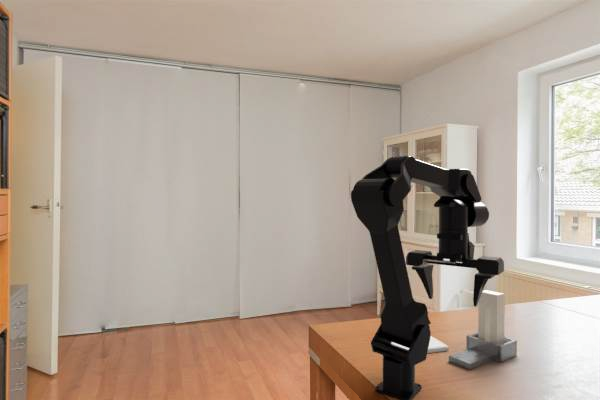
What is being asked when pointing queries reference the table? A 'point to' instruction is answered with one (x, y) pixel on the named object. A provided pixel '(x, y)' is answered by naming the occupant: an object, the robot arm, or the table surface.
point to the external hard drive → (430, 346)
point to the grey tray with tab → (483, 352)
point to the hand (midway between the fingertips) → (452, 302)
